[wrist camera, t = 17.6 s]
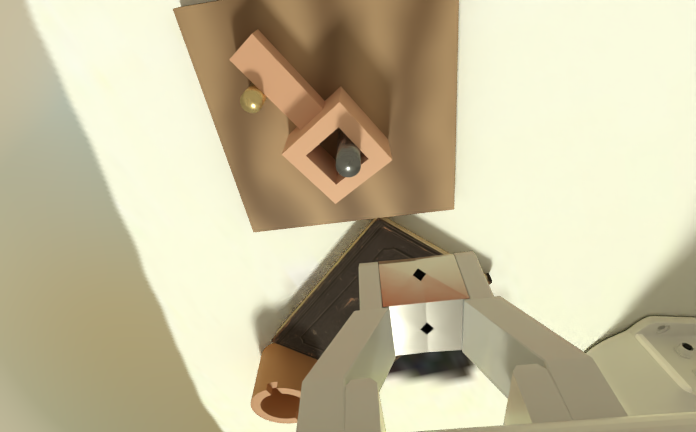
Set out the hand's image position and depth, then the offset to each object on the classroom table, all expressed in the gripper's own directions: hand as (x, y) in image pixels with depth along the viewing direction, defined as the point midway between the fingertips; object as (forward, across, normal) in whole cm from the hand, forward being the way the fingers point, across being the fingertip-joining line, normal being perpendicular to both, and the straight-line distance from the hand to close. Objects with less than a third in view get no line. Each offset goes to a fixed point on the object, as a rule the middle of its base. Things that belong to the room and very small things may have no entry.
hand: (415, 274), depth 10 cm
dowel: (+22, +9, 0) cm, 24 cm away
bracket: (+24, +14, +42) cm, 51 cm away
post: (+23, +3, +5) cm, 23 cm away
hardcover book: (+25, +3, +28) cm, 37 cm away
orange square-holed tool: (+22, +5, +2) cm, 23 cm away
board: (+24, +4, +4) cm, 25 cm away
